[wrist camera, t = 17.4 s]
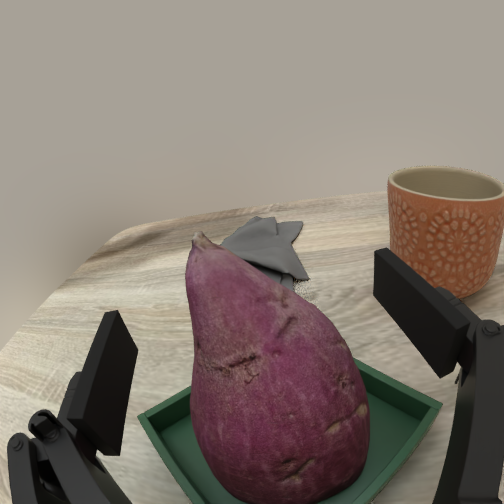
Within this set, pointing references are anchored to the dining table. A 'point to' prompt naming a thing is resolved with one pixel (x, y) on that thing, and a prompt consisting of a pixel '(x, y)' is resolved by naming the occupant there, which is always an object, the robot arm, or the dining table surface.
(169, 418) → the green tray
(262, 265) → the cloth
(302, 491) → the vegetable
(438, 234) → the planter
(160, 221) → the dining table surface
